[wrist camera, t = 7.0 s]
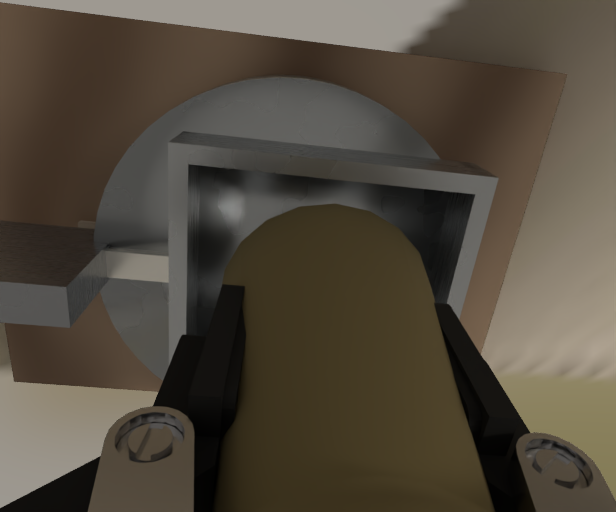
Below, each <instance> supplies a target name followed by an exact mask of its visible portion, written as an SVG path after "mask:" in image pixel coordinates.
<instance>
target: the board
mask: <svg viewBox="0 0 616 512" xmlns="http://www.w3.org/2000/svg"><path fill="white" fill-rule="evenodd" d="M268 75H296V76H306V77H312V78H317V79H322V80H327V81H330V82H333V83H336V84H339V85H342V86H345V87H348V88H351V89H353V90H355V91H357V92H359V93H361V94H363V95H365V96H367V97H369V98H371V99H372V100H374V101H376V102H378V103H379V104H381V105H383V106H385V107H386V108H387V109H389V110H390V111H392V112H393V113H395V114H396V115H397V116H399V117H400V118H402V119H403V120H405V121H406V122H407V123H408V124H409V125H410V126H411V127H412V128H413V129H414V130H416V131H417V132H418V133H419V134H420V135H421V136H422V137H423V138H424V139H425V140H426V141H427V142H428V144H429V145H430V146H431V148H432V149H433V150H434V151H435V153H436V154H437V155H438V156H439V158H440V159H443V160H452V161H461V162H470V163H475V164H477V165H478V166H480V167H482V168H483V169H485V170H487V171H488V172H490V173H492V174H493V175H495V176H497V177H498V178H499V179H498V182H497V186H496V190H495V193H494V197H493V200H492V204H491V207H490V211H489V215H488V218H487V222H486V225H485V229H484V233H483V236H482V240H481V243H480V247H479V251H478V254H477V258H476V261H475V265H474V268H473V272H472V276H471V279H470V283H469V286H468V290H467V294H466V297H465V301H464V304H463V308H462V311H461V315H460V319H459V320H460V322H461V324H462V325H463V327H464V328H465V330H466V332H467V333H468V335H469V337H470V338H471V340H472V341H473V343H474V345H475V346H476V348H477V350H478V351H479V353H480V355H481V351H482V348H483V345H484V342H485V339H486V335H487V332H488V329H489V326H490V322H491V319H492V316H493V313H494V309H495V306H496V303H497V300H498V297H499V293H500V290H501V287H502V284H503V280H504V277H505V274H506V271H507V268H508V264H509V261H510V258H511V255H512V251H513V248H514V245H515V242H516V239H517V235H518V232H519V229H520V226H521V222H522V219H523V216H524V213H525V210H526V206H527V203H528V200H529V197H530V193H531V190H532V187H533V184H534V181H535V177H536V174H537V171H538V168H539V164H540V161H541V158H542V155H543V151H544V148H545V145H546V142H547V139H548V135H549V132H550V129H551V126H552V122H553V119H554V116H555V113H556V110H557V106H558V103H559V100H560V97H561V93H562V90H563V87H564V84H565V81H566V77H567V74H563V73H555V72H547V71H539V70H531V69H523V68H515V67H507V66H499V65H491V64H484V63H476V62H468V61H460V60H452V59H444V58H436V57H428V56H420V55H412V54H404V53H396V52H389V51H381V50H372V49H365V48H357V47H349V46H341V45H333V44H325V43H317V42H309V41H301V40H294V39H286V38H277V37H270V36H261V35H253V34H246V33H238V32H230V31H222V30H214V29H206V28H199V27H191V26H183V25H175V24H167V23H158V22H151V21H143V20H135V19H127V18H119V17H111V16H103V15H95V14H88V13H80V12H72V11H64V10H55V9H48V8H40V7H32V6H24V5H16V4H8V3H1V2H0V220H2V221H13V222H23V223H34V224H45V225H56V226H66V227H77V228H88V229H95V224H96V218H97V212H98V209H99V206H100V202H101V199H102V196H103V193H104V190H105V187H106V185H107V183H108V181H109V179H110V177H111V175H112V173H113V171H114V169H115V167H116V166H117V164H118V163H119V161H120V160H121V158H122V157H123V156H124V154H125V153H126V151H127V150H128V148H129V147H130V146H131V145H132V144H133V143H134V142H135V140H136V139H137V138H138V137H139V136H140V135H141V134H142V133H143V132H144V131H145V130H146V129H147V128H148V127H149V126H150V125H152V124H153V123H154V122H155V121H157V120H158V119H159V118H160V117H162V116H163V115H164V114H166V113H167V112H168V111H170V110H171V109H173V108H175V107H177V106H178V105H180V104H182V103H184V102H185V101H187V100H189V99H191V98H192V97H194V96H197V95H199V94H201V93H203V92H206V91H208V90H211V89H213V88H216V87H218V86H221V85H224V84H226V83H229V82H233V81H237V80H242V79H246V78H250V77H257V76H268ZM5 328H6V334H7V341H8V347H9V353H10V359H11V365H12V371H13V377H14V381H15V382H28V383H42V384H56V385H71V386H85V387H99V388H114V389H128V390H143V391H157V392H159V390H160V387H161V385H162V382H163V381H162V380H161V379H160V378H159V377H157V376H156V375H155V374H153V373H152V372H151V371H150V370H149V369H148V368H147V367H146V366H145V365H144V364H143V363H142V362H141V361H140V360H139V359H138V358H137V357H136V356H135V355H134V353H133V352H132V351H131V350H130V348H129V347H128V346H127V345H126V344H125V342H124V341H123V339H122V338H121V336H120V334H119V333H118V331H117V330H116V328H115V326H114V325H113V323H112V321H111V319H110V317H109V314H108V312H107V310H106V308H105V306H104V303H103V300H102V297H101V293H100V292H99V293H98V294H97V295H96V297H95V298H94V299H93V300H92V302H91V303H90V304H89V305H88V307H87V308H86V309H85V310H84V311H83V313H82V314H81V315H80V316H79V318H78V319H77V320H76V321H75V323H74V324H73V325H72V326H71V328H65V327H52V326H39V325H27V324H14V323H5Z"/></svg>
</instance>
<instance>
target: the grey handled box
mask: <svg viewBox="0 0 616 512" xmlns="http://www.w3.org/2000/svg"><path fill="white" fill-rule="evenodd" d="M498 179H499V178H498V177H497V176H495V175H493V174H492V173H490V172H488V171H487V170H485V169H483V168H482V167H480V166H478V165H477V164H475V163H470V162H461V161H452V160H443V159H440V158H439V156H438V155H437V154H436V153H435V151H434V150H433V149H432V148H431V146H430V145H429V144H428V142H427V141H426V140H425V139H424V138H423V137H422V136H421V135H420V134H419V133H418V132H417V131H416V130H414V129H413V128H412V127H411V126H410V125H409V124H408V123H407V122H406V121H405V120H403V119H402V118H400V117H399V116H397V115H396V114H395V113H393V112H392V111H390V110H389V109H387V108H386V107H385V106H383V105H381V104H379V103H378V102H376V101H374V100H372V99H371V98H369V97H367V96H365V95H363V94H361V93H359V92H357V91H355V90H353V89H351V88H348V87H345V86H342V85H339V84H336V83H333V82H330V81H327V80H322V79H317V78H312V77H306V76H296V75H268V76H257V77H250V78H246V79H242V80H237V81H233V82H229V83H226V84H224V85H221V86H218V87H216V88H213V89H211V90H208V91H206V92H203V93H201V94H199V95H197V96H194V97H192V98H191V99H189V100H187V101H185V102H184V103H182V104H180V105H178V106H177V107H175V108H173V109H171V110H170V111H168V112H167V113H166V114H164V115H163V116H162V117H160V118H159V119H158V120H157V121H155V122H154V123H153V124H152V125H150V126H149V127H148V128H147V129H146V130H145V131H144V132H143V133H142V134H141V135H140V136H139V137H138V138H137V139H136V140H135V142H134V143H133V144H132V145H131V146H130V147H129V148H128V150H127V151H126V153H125V154H124V156H123V157H122V158H121V160H120V161H119V163H118V164H117V166H116V167H115V169H114V171H113V173H112V175H111V177H110V179H109V181H108V183H107V185H106V187H105V190H104V193H103V196H102V199H101V202H100V206H99V209H98V212H97V218H96V224H95V229H88V228H77V227H66V226H56V225H45V224H34V223H23V222H13V221H2V220H0V322H1V323H14V324H27V325H39V326H52V327H65V328H71V326H72V325H73V324H74V323H75V321H76V320H77V319H78V318H79V316H80V315H81V314H82V313H83V311H84V310H85V309H86V308H87V307H88V305H89V304H90V303H91V302H92V300H93V299H94V298H95V297H96V295H97V294H98V293H99V292H100V293H101V297H102V300H103V303H104V306H105V308H106V310H107V312H108V314H109V317H110V319H111V321H112V323H113V325H114V326H115V328H116V330H117V331H118V333H119V334H120V336H121V338H122V339H123V341H124V342H125V344H126V345H127V346H128V347H129V348H130V350H131V351H132V352H133V353H134V355H135V356H136V357H137V358H138V359H139V360H140V361H141V362H142V363H143V364H144V365H145V366H146V367H147V368H148V369H149V370H150V371H151V372H152V373H153V374H155V375H156V376H157V377H159V378H160V379H161V380H162V381H163V380H164V377H165V375H166V372H167V370H168V367H169V365H170V362H171V359H172V357H173V354H174V352H175V349H176V347H177V344H178V342H179V339H180V337H181V335H183V334H184V335H197V336H207V333H208V329H209V326H210V323H211V320H212V316H213V313H214V310H215V307H216V303H217V300H218V297H219V294H220V290H221V287H222V281H223V276H224V270H225V268H226V266H227V265H228V263H229V261H230V259H231V258H232V256H233V254H234V253H235V251H236V249H237V248H238V246H239V244H240V242H241V241H243V240H244V239H245V238H246V237H247V236H248V235H250V234H251V233H252V232H253V231H254V230H256V229H257V228H258V227H259V226H260V225H261V224H263V223H264V222H265V221H266V220H268V219H270V218H273V217H275V216H278V215H280V214H283V213H285V212H287V211H290V210H292V209H295V208H297V207H300V206H312V205H323V204H334V203H336V204H340V205H345V206H349V207H354V208H359V209H363V210H368V211H371V212H372V213H374V214H376V215H378V216H379V217H381V218H383V219H384V220H386V221H388V222H389V223H391V224H393V225H394V226H396V227H398V228H399V229H400V230H401V231H402V232H403V234H404V235H405V236H406V237H407V238H408V240H409V241H410V242H411V243H412V244H413V246H414V247H415V248H416V249H417V250H418V252H419V253H420V256H421V259H422V262H423V265H424V267H425V270H426V273H427V276H428V279H429V282H430V285H431V289H432V292H433V296H434V299H435V303H443V304H449V305H450V306H451V307H452V309H453V311H454V312H455V314H456V315H457V317H458V319H460V315H461V311H462V308H463V304H464V301H465V297H466V294H467V290H468V286H469V283H470V279H471V276H472V272H473V268H474V265H475V261H476V258H477V254H478V251H479V247H480V243H481V240H482V236H483V233H484V229H485V225H486V222H487V218H488V215H489V211H490V207H491V204H492V200H493V197H494V193H495V190H496V186H497V182H498Z"/></svg>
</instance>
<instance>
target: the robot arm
mask: <svg viewBox="0 0 616 512" xmlns="http://www.w3.org/2000/svg"><path fill="white" fill-rule="evenodd" d="M244 289H245V286H239V285H228V284H222V287H221V290H220V294H219V297H218V300H217V303H216V307H215V310H214V313H213V316H212V320H211V323H210V326H209V329H208V333H207V336H197V335H184V334H183V335H181V337H180V339H179V342H178V344H177V347H176V349H175V352H174V354H173V357H172V359H171V362H170V365H169V367H168V370H167V372H166V375H165V377H164V380H163V382H162V385H161V387H160V390H159V392H158V395H157V397H156V400H155V402H154V405H153V406H152V407H146V408H140V409H138V410H135V411H133V412H130V413H128V414H126V415H125V416H123V417H121V418H120V419H118V420H117V421H116V422H115V423H114V424H113V426H112V427H111V428H110V429H109V431H108V433H107V435H106V438H105V440H104V445H103V449H102V453H101V456H100V457H98V458H96V459H94V460H92V461H90V462H88V463H86V464H85V465H83V466H81V467H79V468H77V469H75V470H73V471H71V472H69V473H67V474H65V475H63V476H61V477H60V478H58V479H56V480H54V481H52V482H50V483H48V484H46V485H44V486H42V487H40V488H38V489H36V490H35V491H33V492H31V493H29V494H27V495H25V496H23V497H21V498H19V499H17V500H15V501H13V502H11V503H10V504H8V505H6V506H4V507H2V508H0V512H212V506H213V498H214V489H215V481H216V472H217V464H218V455H219V447H220V441H221V439H222V438H223V436H224V435H225V433H226V432H227V431H228V429H229V428H230V426H231V425H232V423H233V422H234V417H235V410H236V403H237V395H238V388H239V381H240V374H241V367H242V360H243V353H244V347H245V340H246V330H245V323H244V316H243V309H242V300H243V294H244ZM434 306H435V309H436V313H437V317H438V320H439V324H440V327H441V331H442V334H443V337H444V341H445V344H446V348H447V352H448V355H449V359H450V363H451V366H452V370H453V374H454V379H455V382H456V385H457V388H458V391H459V394H460V398H461V401H462V405H463V408H464V411H465V415H466V418H467V421H468V425H469V428H470V431H471V433H472V436H473V439H474V442H475V444H476V448H477V451H478V454H479V457H480V461H481V464H482V468H483V471H484V474H485V478H486V481H487V485H488V488H489V492H490V495H491V499H492V502H493V506H494V509H495V512H616V501H615V499H614V497H613V495H612V493H611V491H610V489H609V487H608V485H607V483H606V481H605V479H604V478H603V476H602V474H601V472H600V470H599V469H598V467H597V466H596V464H595V463H594V462H593V460H592V459H591V458H589V457H588V456H587V455H586V454H585V453H584V452H583V451H582V450H580V449H579V448H577V447H576V446H574V445H573V444H571V443H570V442H567V441H565V440H563V439H561V438H559V437H556V436H553V435H549V434H546V433H535V432H534V433H530V432H529V430H528V428H527V427H526V425H525V424H524V422H523V420H522V419H521V417H520V416H519V414H518V412H517V411H516V409H515V408H514V406H513V404H512V403H511V401H510V399H509V398H508V396H507V395H506V393H505V391H504V390H503V388H502V386H501V385H500V383H499V382H498V380H497V378H496V377H495V375H494V373H493V372H492V370H491V369H490V367H489V365H488V364H487V363H486V361H485V360H484V359H483V358H482V356H481V355H480V353H479V351H478V350H477V348H476V346H475V345H474V343H473V341H472V340H471V338H470V337H469V335H468V333H467V332H466V330H465V328H464V327H463V325H462V324H461V322H460V320H459V319H458V317H457V315H456V314H455V312H454V311H453V309H452V307H451V306H450V305H449V304H443V303H434Z"/></svg>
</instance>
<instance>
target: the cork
mask: <svg viewBox="0 0 616 512" xmlns="http://www.w3.org/2000/svg"><path fill="white" fill-rule="evenodd" d="M222 284H228V285H239V286H245V289H244V294H243V300H242V309H243V316H244V323H245V330H246V340H245V347H244V353H243V360H242V367H241V374H240V381H239V388H238V395H237V403H236V410H235V417H234V422H233V423H232V425H231V426H230V428H229V429H228V431H227V432H226V433H225V435H224V436H223V438H222V439H221V441H220V447H219V455H218V464H217V472H216V481H215V489H214V498H213V506H212V512H495V509H494V506H493V502H492V499H491V495H490V492H489V488H488V485H487V481H486V478H485V474H484V471H483V468H482V464H481V461H480V457H479V454H478V451H477V448H476V444H475V442H474V439H473V436H472V433H471V431H470V428H469V425H468V421H467V418H466V415H465V411H464V408H463V405H462V401H461V398H460V394H459V391H458V388H457V385H456V382H455V379H454V374H453V370H452V366H451V363H450V359H449V355H448V352H447V348H446V344H445V341H444V337H443V334H442V331H441V327H440V324H439V320H438V317H437V313H436V309H435V306H434V303H435V299H434V296H433V292H432V289H431V285H430V282H429V279H428V276H427V273H426V270H425V267H424V265H423V262H422V259H421V256H420V253H419V252H418V250H417V249H416V248H415V247H414V246H413V244H412V243H411V242H410V241H409V240H408V238H407V237H406V236H405V235H404V234H403V232H402V231H401V230H400V229H399V228H398V227H396V226H394V225H393V224H391V223H389V222H388V221H386V220H384V219H383V218H381V217H379V216H378V215H376V214H374V213H372V212H371V211H368V210H363V209H359V208H354V207H349V206H345V205H340V204H336V203H334V204H323V205H312V206H300V207H297V208H295V209H292V210H290V211H287V212H285V213H283V214H280V215H278V216H275V217H273V218H270V219H268V220H266V221H265V222H264V223H263V224H261V225H260V226H259V227H258V228H257V229H256V230H254V231H253V232H252V233H251V234H250V235H248V236H247V237H246V238H245V239H244V240H243V241H241V242H240V244H239V246H238V248H237V249H236V251H235V253H234V254H233V256H232V258H231V259H230V261H229V263H228V265H227V266H226V268H225V270H224V276H223V281H222Z"/></svg>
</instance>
